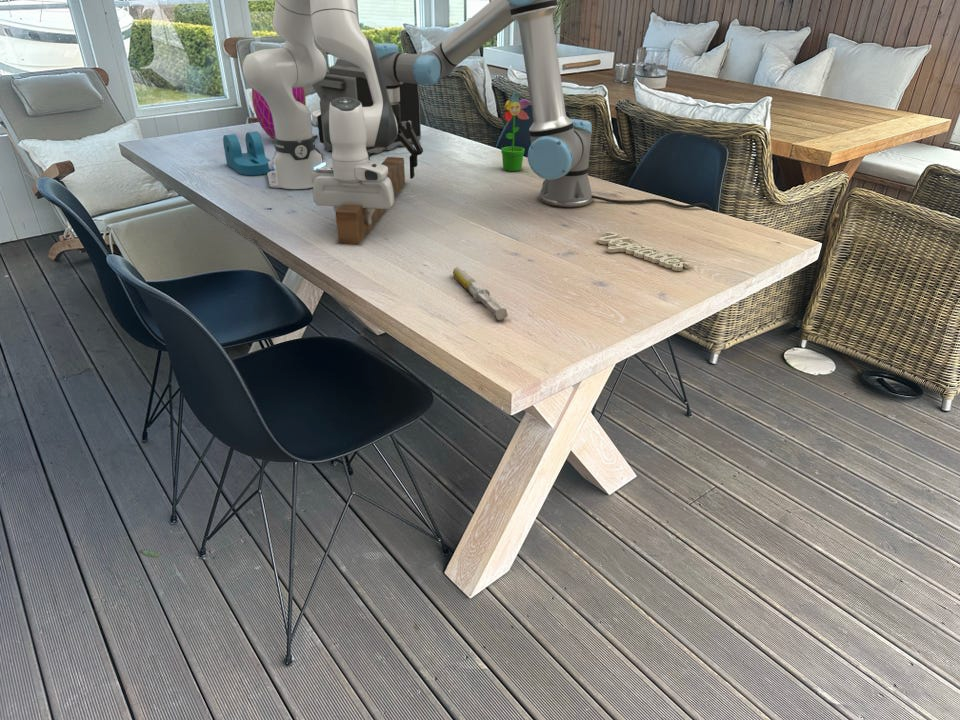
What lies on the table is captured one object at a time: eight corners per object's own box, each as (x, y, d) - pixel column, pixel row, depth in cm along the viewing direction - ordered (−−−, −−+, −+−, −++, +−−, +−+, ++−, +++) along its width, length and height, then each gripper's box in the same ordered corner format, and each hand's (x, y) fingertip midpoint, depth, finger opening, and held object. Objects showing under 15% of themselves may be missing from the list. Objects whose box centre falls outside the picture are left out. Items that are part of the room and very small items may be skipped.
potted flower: (506, 173, 227) (508, 93, 214) (495, 167, 233) (496, 89, 220) (530, 170, 231) (534, 91, 218) (519, 164, 237) (522, 87, 224)
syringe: (449, 274, 155) (449, 263, 153) (465, 272, 156) (464, 260, 154) (490, 323, 135) (491, 310, 133) (508, 319, 136) (508, 307, 134)
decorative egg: (293, 132, 276) (283, 50, 261) (319, 140, 264) (310, 56, 249) (249, 139, 265) (236, 54, 250) (273, 148, 253) (261, 60, 238)
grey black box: (383, 133, 276) (378, 52, 261) (425, 141, 265) (422, 56, 250) (314, 150, 251) (304, 61, 235) (358, 160, 240) (350, 67, 224)
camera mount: (227, 164, 233) (221, 132, 227) (257, 160, 238) (252, 129, 233) (244, 176, 220) (239, 143, 215) (276, 172, 225) (271, 139, 220)
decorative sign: (584, 239, 172) (609, 230, 178) (583, 243, 172) (609, 234, 178) (672, 271, 155) (697, 260, 161) (671, 275, 156) (696, 264, 161)
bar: (389, 183, 217) (387, 156, 213) (405, 183, 216) (404, 157, 212) (338, 243, 171) (335, 211, 167) (358, 244, 171) (355, 212, 166)
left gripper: (305, 170, 167) (312, 225, 174) (388, 174, 165) (391, 229, 172) (314, 164, 172) (320, 217, 179) (394, 167, 170) (397, 221, 177)
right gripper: (340, 103, 195) (346, 177, 206) (427, 107, 193) (428, 182, 204) (348, 98, 202) (353, 170, 213) (432, 102, 199) (433, 175, 210)
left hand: (355, 223), depth 176 cm, fingers closed on bar, 5 cm apart
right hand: (390, 176), depth 208 cm, fingers open, 13 cm apart
